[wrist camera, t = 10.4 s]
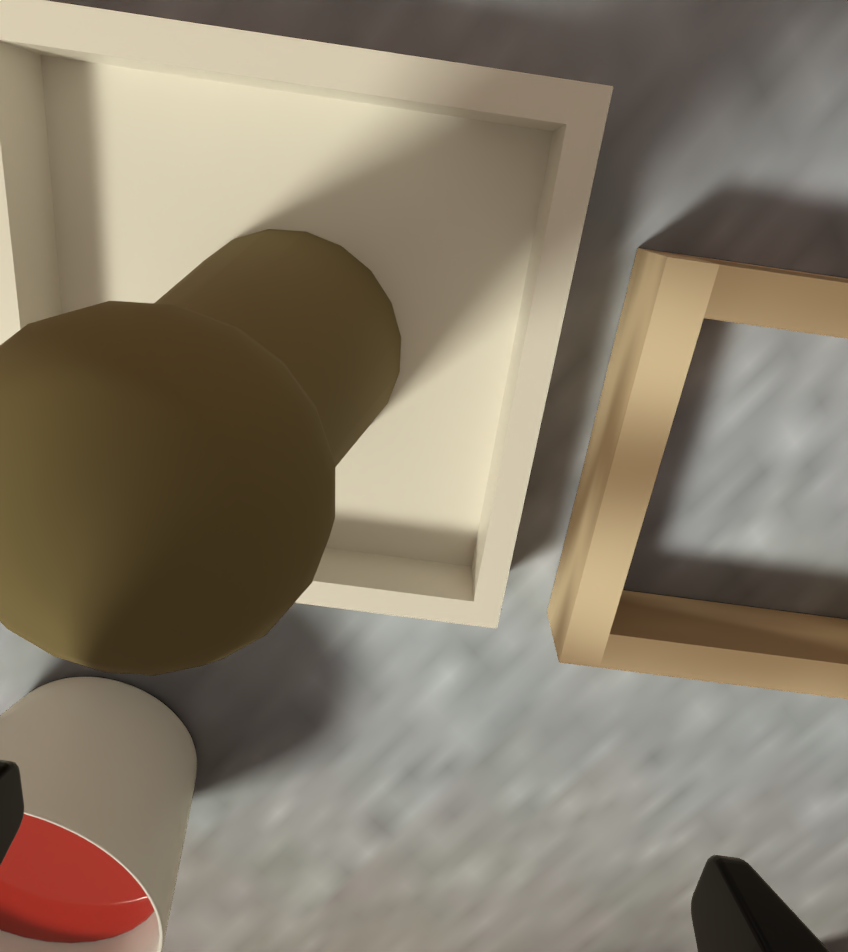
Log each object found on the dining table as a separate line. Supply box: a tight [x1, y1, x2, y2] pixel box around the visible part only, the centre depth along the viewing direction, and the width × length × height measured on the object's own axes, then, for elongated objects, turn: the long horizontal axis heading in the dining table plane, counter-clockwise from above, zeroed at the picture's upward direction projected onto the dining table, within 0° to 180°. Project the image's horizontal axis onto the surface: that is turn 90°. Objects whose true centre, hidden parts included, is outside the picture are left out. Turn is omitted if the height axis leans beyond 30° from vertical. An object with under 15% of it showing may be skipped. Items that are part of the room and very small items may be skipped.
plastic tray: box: [0, 0, 614, 628], centre depth 17 cm, size 14×14×2 cm
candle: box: [0, 677, 197, 952], centre depth 22 cm, size 9×9×6 cm
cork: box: [0, 229, 401, 675], centre depth 13 cm, size 6×6×11 cm
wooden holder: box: [547, 248, 848, 699], centre depth 18 cm, size 11×11×2 cm
